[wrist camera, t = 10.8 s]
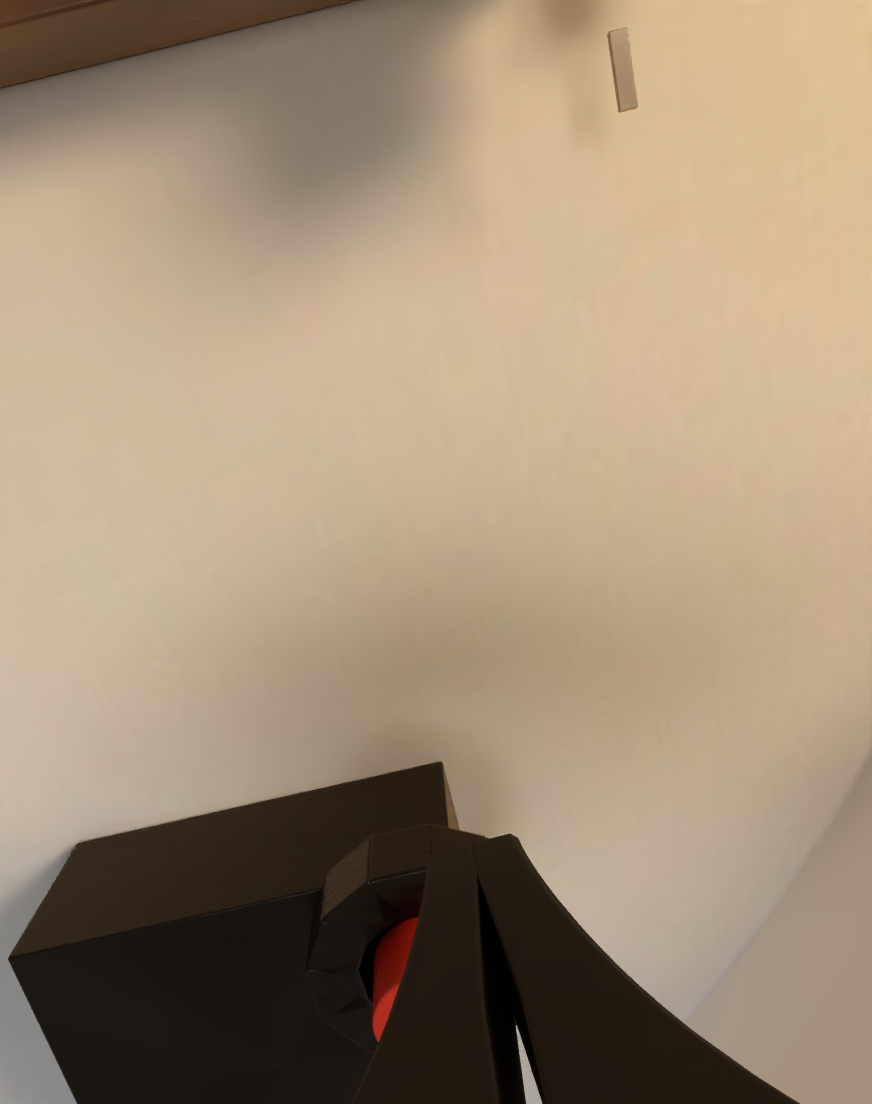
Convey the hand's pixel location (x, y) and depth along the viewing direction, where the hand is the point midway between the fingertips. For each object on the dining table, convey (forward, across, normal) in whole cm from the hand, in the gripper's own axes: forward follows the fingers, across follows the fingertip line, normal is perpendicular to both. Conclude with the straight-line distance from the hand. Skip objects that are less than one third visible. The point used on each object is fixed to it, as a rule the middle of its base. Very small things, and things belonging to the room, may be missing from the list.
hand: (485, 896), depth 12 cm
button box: (+11, +5, +8) cm, 14 cm away
